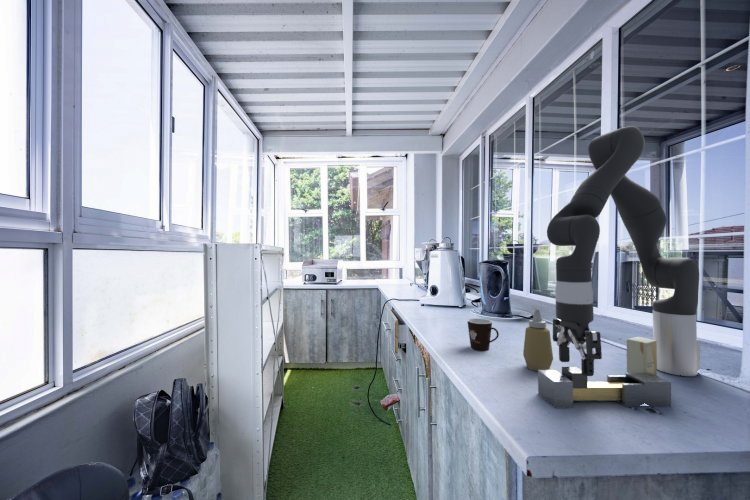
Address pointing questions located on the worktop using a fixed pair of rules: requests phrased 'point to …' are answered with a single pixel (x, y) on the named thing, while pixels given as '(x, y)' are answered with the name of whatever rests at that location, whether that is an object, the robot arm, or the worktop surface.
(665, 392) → the sleeve
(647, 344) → the skincare box
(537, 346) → the squeeze bottle
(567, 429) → the worktop surface
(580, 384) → the yellow bar
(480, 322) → the coffee mug
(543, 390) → the socket
